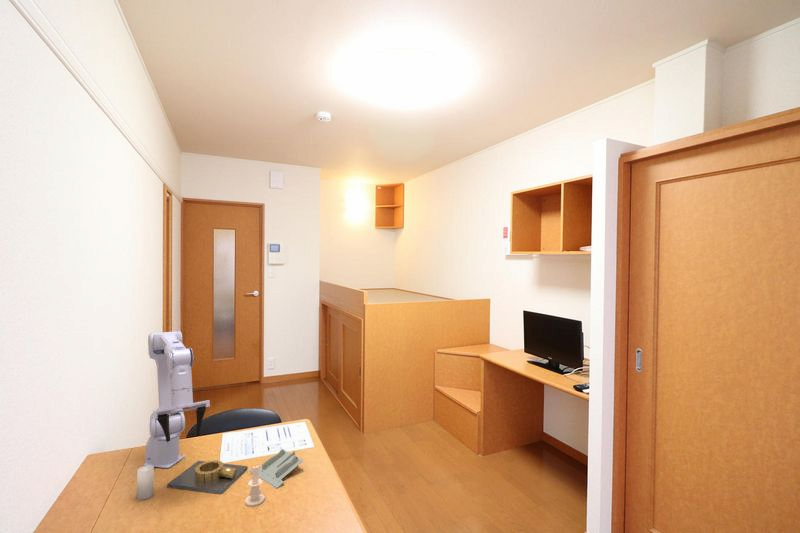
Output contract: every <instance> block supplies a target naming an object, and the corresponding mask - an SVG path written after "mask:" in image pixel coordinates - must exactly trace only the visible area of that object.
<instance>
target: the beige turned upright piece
mask: <svg viewBox="0 0 800 533" xmlns="http://www.w3.org/2000/svg"><path fill="white" fill-rule="evenodd" d="M258 466H259V465H257V464H255V466H253V467H252V468H253V474H251V476H252V477H251V478H252V479H251V480H249V481H248V483H247V485H248V486H249V487H250V491H249V493H248V495H249V496H247V497H246V498H245V500H244V503H245V505H246V506H247V507H257V506H260V505H261V504H263V503H264V502H265V495H263V494H262V490H261V489H260V485H261V484H263V480H262V479H260V478H258Z"/></svg>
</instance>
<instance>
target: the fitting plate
mask: <svg viewBox="0 0 800 533" xmlns="http://www.w3.org/2000/svg"><path fill="white" fill-rule="evenodd" d="M248 467H249V466H247V465H239V464H229V463H224V462H222V461H221V460H216V459H213V460H207V461H204V460H197V461H196V462H194V463H193V464H192V465H191V466H189V467H188V468H187V469H185V470H184V471H183V472H181V473H180V474H178V475H177V476H175V478H173V479H172V480H171V481H169V482H168V483H167V484H166V487H167V488H170V489H178V490H187V491H194V492H195V491H196V492H201V493H210V494H219V495H223V494H224V493H225V492H226V491H227V490H228V489H229V488H230V487H232V485H233V484H234V483H236V481H237V480H238V479H239V478H240V477H241V476H242V475H243V474H244V473H245V472H246V471H247V470H248Z"/></svg>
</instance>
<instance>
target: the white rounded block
mask: <svg viewBox="0 0 800 533" xmlns="http://www.w3.org/2000/svg"><path fill="white" fill-rule="evenodd" d="M136 472H137V473H136V500H137V501H145V500H149V499H150V498H152V497H153V496H154V479H155V478H154V473H155V467H154V466H153V465H146V466H144V465H143V466H140V467H139V468H138V469H137V470H136Z"/></svg>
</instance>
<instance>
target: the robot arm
mask: <svg viewBox="0 0 800 533" xmlns="http://www.w3.org/2000/svg"><path fill="white" fill-rule="evenodd" d="M147 345H148V346H147V347H148V355H149V359H152V360H154V361H155V364H156V374H157V376H156V378H157V392H158V393H157V394H158V395H157V396H158V408H157V409H155V410H153V411H152V412H151V414H150V417H149V436H150V437H148V439H147V441H146V444H145V462H144V463H143V466H146V465H153V466H154V468H163V469H170V468H171V467H173V466H174V465H176V464H178V463H179V462H180V461H181V460H183V459H184V458H186V456H185V455H184V454H180V436H181V434H182V432H184V430H185V428H186V416H185V412H188V411H192V410H193V411H194V410H195V414H196V435H197V436H199V435H201V426H202V422H203V419H204V416H205V413H206V410H207V408H210V407H211V404H210V402H211V401H210V400H209V399H208V400H203V401H197V402H194V396H193V394H194V393H193V378H192V377H193V375H192V367H193V366H194V358H195V357H194V353H193V349H192V347H188V348H187V347H186V346H185V345H184V343H183V334H182V331H180V330H177V331H164V332H150V333H149V334H148V336H147Z"/></svg>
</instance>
